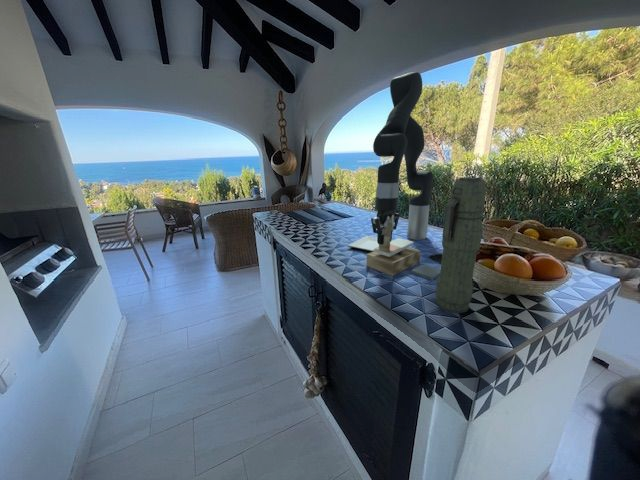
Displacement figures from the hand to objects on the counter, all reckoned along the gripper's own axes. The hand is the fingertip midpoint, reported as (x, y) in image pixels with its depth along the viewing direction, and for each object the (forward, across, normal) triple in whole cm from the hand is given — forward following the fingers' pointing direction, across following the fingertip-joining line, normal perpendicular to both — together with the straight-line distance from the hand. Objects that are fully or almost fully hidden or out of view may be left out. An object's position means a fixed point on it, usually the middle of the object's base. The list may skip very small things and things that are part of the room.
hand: (384, 242), depth 94 cm
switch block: (+10, -6, 0) cm, 12 cm away
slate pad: (+10, -8, +13) cm, 19 cm away
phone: (+11, -24, +14) cm, 29 cm away
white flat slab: (+3, -6, 0) cm, 7 cm away
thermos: (+11, +6, +28) cm, 31 cm away
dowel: (+3, 0, 0) cm, 3 cm away
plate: (+11, -18, -18) cm, 27 cm away
